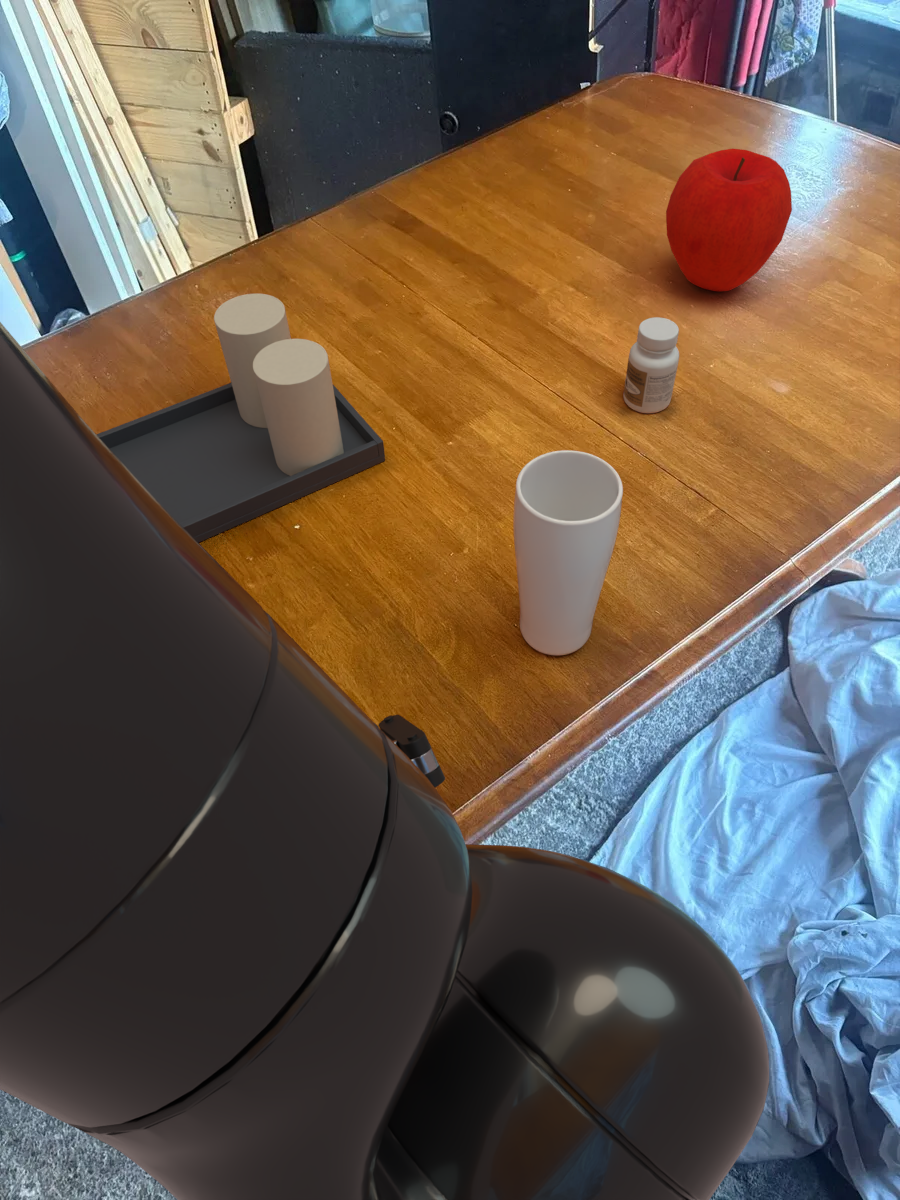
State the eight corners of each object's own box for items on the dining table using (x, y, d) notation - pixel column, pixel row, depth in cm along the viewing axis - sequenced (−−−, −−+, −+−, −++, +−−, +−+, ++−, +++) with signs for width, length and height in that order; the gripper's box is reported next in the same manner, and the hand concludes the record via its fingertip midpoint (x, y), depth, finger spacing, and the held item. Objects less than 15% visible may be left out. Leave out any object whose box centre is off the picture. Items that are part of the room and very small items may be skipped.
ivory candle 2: (293, 488, 76) (271, 394, 68) (264, 449, 79) (240, 354, 72) (355, 461, 78) (341, 366, 70) (324, 424, 81) (307, 329, 73)
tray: (111, 581, 71) (102, 562, 69) (56, 472, 79) (47, 453, 78) (385, 460, 79) (383, 441, 77) (309, 373, 87) (306, 353, 85)
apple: (656, 314, 92) (678, 185, 81) (652, 252, 99) (672, 127, 88) (774, 318, 90) (812, 188, 80) (762, 256, 98) (795, 129, 87)
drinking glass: (514, 591, 69) (519, 444, 57) (602, 598, 68) (625, 451, 57) (505, 662, 65) (509, 520, 53) (598, 671, 64) (623, 529, 53)
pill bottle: (616, 388, 84) (626, 317, 78) (661, 381, 85) (674, 310, 79) (631, 418, 82) (642, 346, 75) (677, 410, 82) (692, 339, 76)
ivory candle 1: (255, 437, 80) (230, 342, 73) (229, 401, 84) (202, 308, 76) (315, 412, 82) (297, 318, 74) (287, 379, 86) (267, 285, 78)
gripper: (456, 697, 35) (354, 662, 50) (107, 887, 31) (111, 786, 46) (528, 859, 36) (407, 777, 52) (203, 1064, 32) (176, 909, 47)
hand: (268, 782), depth 49 cm, fingers open, 8 cm apart
